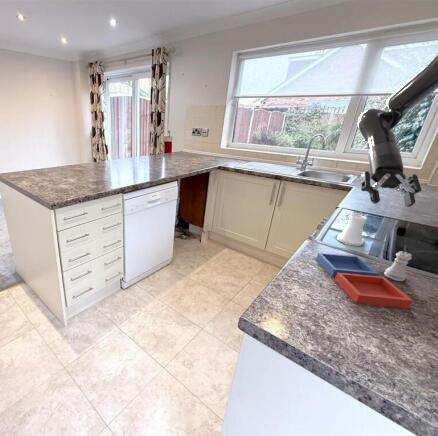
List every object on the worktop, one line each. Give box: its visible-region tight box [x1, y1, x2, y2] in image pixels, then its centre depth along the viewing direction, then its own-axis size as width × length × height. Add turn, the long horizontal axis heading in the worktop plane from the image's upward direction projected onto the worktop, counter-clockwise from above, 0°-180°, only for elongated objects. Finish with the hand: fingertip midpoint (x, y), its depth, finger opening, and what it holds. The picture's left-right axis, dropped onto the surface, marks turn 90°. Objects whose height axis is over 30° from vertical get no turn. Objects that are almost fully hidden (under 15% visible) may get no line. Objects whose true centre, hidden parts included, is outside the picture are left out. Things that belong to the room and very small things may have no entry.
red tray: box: [334, 273, 414, 309], centre depth 64 cm, size 12×10×2 cm
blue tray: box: [315, 252, 380, 278], centre depth 74 cm, size 12×10×2 cm
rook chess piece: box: [383, 250, 413, 282], centre depth 69 cm, size 4×4×8 cm
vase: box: [336, 213, 368, 247], centre depth 90 cm, size 8×8×10 cm
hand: (393, 204), depth 74 cm, fingers open, 8 cm apart
